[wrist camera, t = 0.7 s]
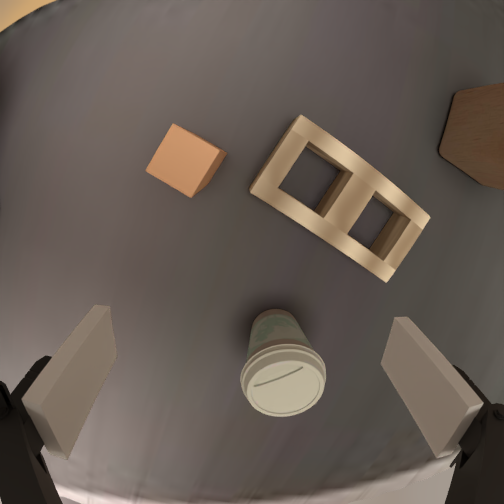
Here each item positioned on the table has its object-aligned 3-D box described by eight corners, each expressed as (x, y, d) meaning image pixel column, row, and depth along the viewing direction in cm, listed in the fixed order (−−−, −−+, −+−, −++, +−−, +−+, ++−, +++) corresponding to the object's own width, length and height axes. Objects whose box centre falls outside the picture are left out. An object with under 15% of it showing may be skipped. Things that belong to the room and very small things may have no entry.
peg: (177, 165, 33) (145, 170, 22) (196, 134, 32) (173, 123, 21) (208, 184, 34) (191, 198, 23) (227, 153, 33) (220, 150, 22)
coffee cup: (313, 301, 39) (339, 357, 27) (300, 357, 41) (318, 420, 29) (244, 295, 38) (245, 352, 26) (237, 353, 40) (236, 418, 29)
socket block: (248, 187, 34) (249, 192, 30) (293, 119, 32) (301, 114, 28) (372, 269, 38) (386, 282, 33) (411, 209, 36) (430, 217, 31)
